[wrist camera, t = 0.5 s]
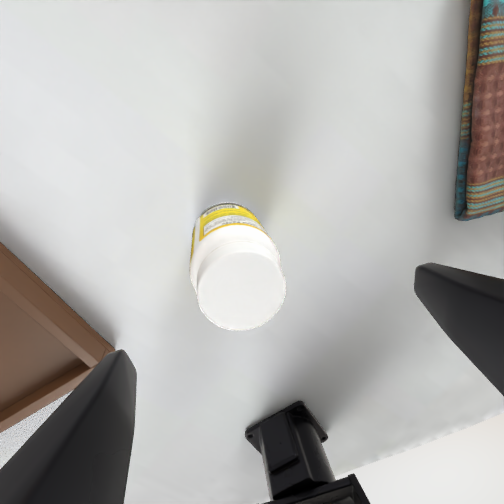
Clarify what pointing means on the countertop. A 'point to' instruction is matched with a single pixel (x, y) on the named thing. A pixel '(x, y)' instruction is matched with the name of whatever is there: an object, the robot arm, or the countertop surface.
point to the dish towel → (482, 115)
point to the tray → (39, 343)
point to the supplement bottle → (235, 268)
